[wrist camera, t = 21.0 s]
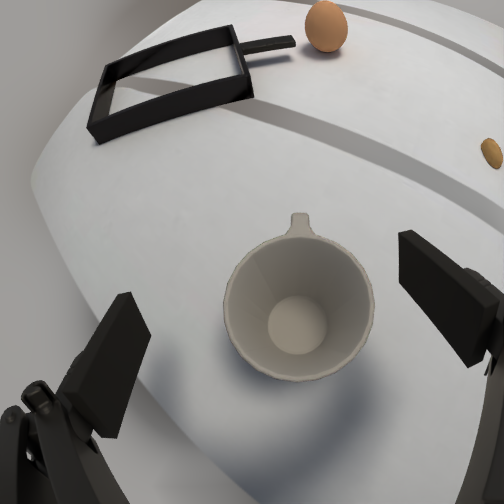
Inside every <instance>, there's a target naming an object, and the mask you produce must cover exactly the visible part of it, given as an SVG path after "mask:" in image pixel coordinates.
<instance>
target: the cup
mask: <svg viewBox="0 0 504 504" xmlns="http://www.w3.org/2000/svg"><path fill="white" fill-rule="evenodd" d="M374 308H375V302H374V296H373V290H372V285H371V283H370V281H369V278H368V276H367V274H366V272H365V270H364V268H363V267H362V265H361V264H360V263H359V262H358V261H357V259H356V258H355V257H354V256H353V255H352V253H350V252H349V251H347V250H346V249H345V248H343V247H342V246H341V245H339V244H338V243H336V242H334V241H331V240H329V239H326V238H324V237H321V236H318V235H315V234H314V232H313V231H312V229H311V227H310V224H309V215H308V214H307V213H293V214H292V215H291V226H290V228H289V230H288V231H287V233H286V234H285V235H282V236H279V237H276V238H273V239H271V240H268V241H265V242H263V243H262V244H260V245H259V246H257V247H256V248H255V249H253V250H252V251H250V252H249V253H248V254H247V255H246V256H245V257H244V258H243V259H242V261H241V262H240V263H239V264H238V265H237V266H236V268H235V270H234V272H233V274H232V276H231V277H230V279H229V281H228V283H227V287H226V292H225V296H224V301H223V309H224V323H225V326H226V329H227V332H228V335H229V338H230V341H231V342H232V344H233V345H234V347H235V348H236V350H237V351H238V353H239V354H240V356H241V357H242V358H243V359H244V360H245V361H246V362H248V363H249V364H250V365H251V366H252V367H253V368H255V369H256V370H257V371H259V372H261V373H264V374H266V375H268V376H270V377H272V378H274V379H278V380H284V381H291V382H304V381H313V380H318V379H321V378H323V377H326V376H328V375H331V374H333V373H336V372H337V371H339V370H340V369H341V368H343V367H344V366H345V365H347V364H348V363H349V362H350V361H352V360H353V359H354V358H355V356H356V355H357V354H358V352H359V351H360V350H361V348H362V347H363V346H364V344H365V343H366V340H367V338H368V335H369V333H370V330H371V328H372V325H373V318H374Z"/></svg>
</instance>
